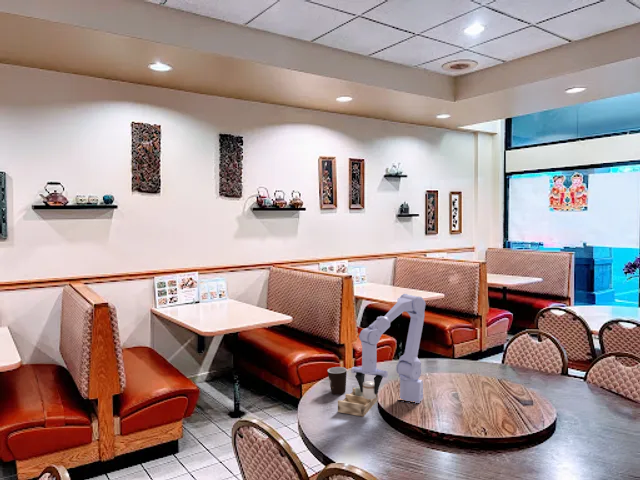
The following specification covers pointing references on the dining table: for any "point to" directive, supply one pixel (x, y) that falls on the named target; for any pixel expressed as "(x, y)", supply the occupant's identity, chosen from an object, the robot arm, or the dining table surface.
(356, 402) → the rack
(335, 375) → the coffee mug
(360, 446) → the dining table surface
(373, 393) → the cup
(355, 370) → the robot arm
